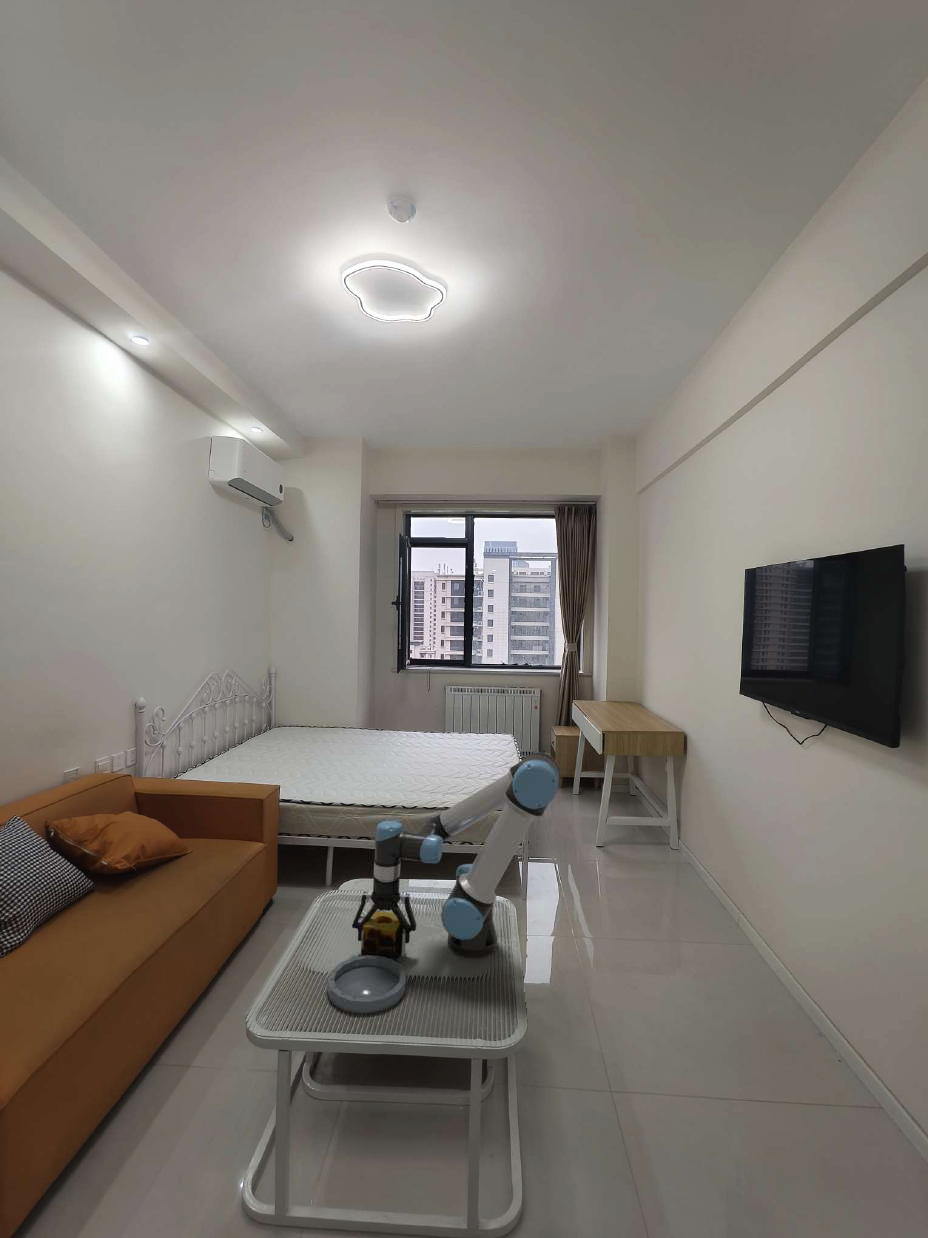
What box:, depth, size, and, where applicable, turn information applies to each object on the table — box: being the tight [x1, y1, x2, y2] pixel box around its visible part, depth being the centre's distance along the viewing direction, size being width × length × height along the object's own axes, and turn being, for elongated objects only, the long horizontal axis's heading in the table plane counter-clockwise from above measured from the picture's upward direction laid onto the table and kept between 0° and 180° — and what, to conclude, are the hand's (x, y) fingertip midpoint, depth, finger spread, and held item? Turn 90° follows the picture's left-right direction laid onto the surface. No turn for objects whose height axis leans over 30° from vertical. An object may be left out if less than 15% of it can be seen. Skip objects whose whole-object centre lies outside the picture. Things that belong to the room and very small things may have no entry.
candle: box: [360, 911, 406, 963], centre depth 170 cm, size 10×10×10 cm
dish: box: [326, 955, 407, 1015], centre depth 154 cm, size 20×20×3 cm
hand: (383, 952), depth 170 cm, fingers open, 11 cm apart
